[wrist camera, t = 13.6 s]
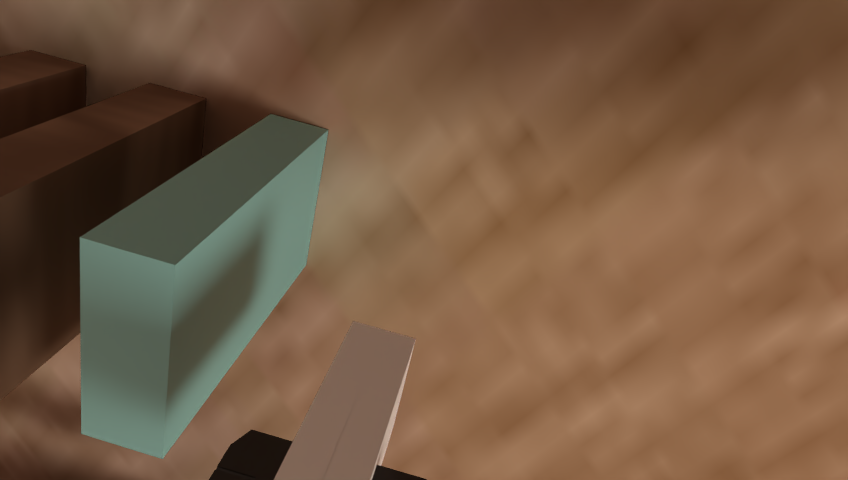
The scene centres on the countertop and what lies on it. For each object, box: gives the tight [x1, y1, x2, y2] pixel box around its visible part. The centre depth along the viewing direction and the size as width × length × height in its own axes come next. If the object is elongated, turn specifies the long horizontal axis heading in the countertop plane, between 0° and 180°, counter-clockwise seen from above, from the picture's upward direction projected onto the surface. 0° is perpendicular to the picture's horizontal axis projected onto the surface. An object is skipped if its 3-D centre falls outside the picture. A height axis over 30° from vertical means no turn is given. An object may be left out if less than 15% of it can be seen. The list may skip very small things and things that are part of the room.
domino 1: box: [0, 83, 206, 400], centre depth 19 cm, size 2×5×10 cm, turn 168°
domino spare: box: [80, 114, 328, 459], centre depth 19 cm, size 2×5×10 cm, turn 167°
